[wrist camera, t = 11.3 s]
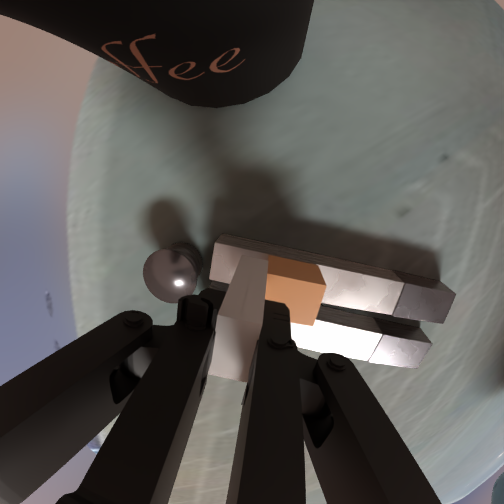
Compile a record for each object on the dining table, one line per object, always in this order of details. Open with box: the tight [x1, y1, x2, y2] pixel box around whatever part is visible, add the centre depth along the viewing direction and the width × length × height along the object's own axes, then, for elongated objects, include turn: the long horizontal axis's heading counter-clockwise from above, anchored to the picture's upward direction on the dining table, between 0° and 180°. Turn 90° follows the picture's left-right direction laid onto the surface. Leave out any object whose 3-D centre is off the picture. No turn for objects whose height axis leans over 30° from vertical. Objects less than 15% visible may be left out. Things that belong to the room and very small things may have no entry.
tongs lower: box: [143, 233, 456, 324], centre depth 18 cm, size 22×5×3 cm, turn 79°
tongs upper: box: [209, 280, 432, 368], centre depth 19 cm, size 18×2×2 cm, turn 75°
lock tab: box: [265, 255, 327, 326], centre depth 15 cm, size 3×2×3 cm
